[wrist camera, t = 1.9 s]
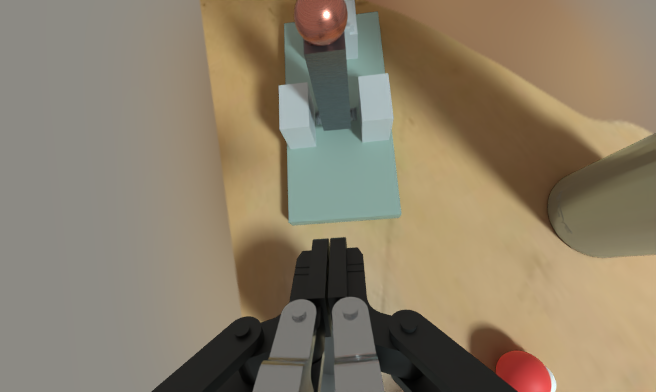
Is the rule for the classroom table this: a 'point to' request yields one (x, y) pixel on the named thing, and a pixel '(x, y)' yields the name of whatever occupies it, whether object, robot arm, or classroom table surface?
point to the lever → (326, 59)
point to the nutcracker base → (340, 134)
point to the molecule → (525, 372)
